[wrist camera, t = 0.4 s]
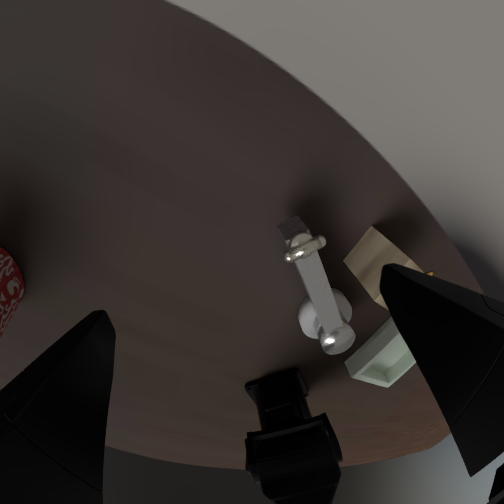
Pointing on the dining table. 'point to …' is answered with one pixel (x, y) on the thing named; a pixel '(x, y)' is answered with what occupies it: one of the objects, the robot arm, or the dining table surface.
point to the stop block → (375, 261)
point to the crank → (316, 285)
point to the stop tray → (381, 357)
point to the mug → (9, 288)
